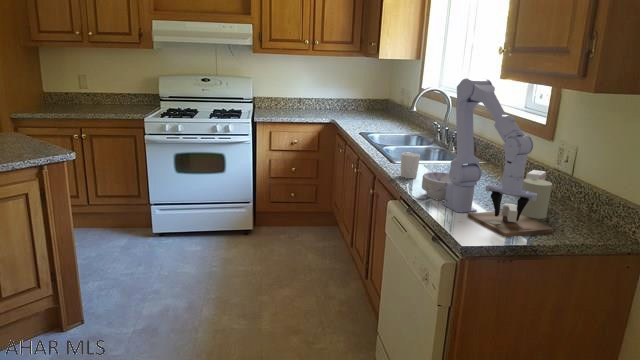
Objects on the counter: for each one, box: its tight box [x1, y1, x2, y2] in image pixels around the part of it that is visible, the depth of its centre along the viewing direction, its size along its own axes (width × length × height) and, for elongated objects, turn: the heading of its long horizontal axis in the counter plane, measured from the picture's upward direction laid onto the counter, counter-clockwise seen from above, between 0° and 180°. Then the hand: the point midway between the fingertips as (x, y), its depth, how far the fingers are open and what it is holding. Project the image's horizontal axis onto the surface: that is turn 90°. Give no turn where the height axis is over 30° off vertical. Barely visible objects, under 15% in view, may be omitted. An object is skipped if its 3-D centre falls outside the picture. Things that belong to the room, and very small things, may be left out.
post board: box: [467, 210, 554, 238], centre depth 150 cm, size 18×18×3 cm
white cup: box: [400, 151, 421, 179], centre depth 203 cm, size 8×8×10 cm
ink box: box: [525, 169, 547, 181], centre depth 174 cm, size 9×5×12 cm, turn 141°
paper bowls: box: [421, 171, 451, 202], centre depth 176 cm, size 15×15×8 cm
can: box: [521, 178, 553, 220], centre depth 161 cm, size 9×9×12 cm
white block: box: [501, 203, 518, 222], centre depth 147 cm, size 10×5×4 cm, turn 163°
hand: (506, 217), depth 147 cm, fingers open, 5 cm apart
